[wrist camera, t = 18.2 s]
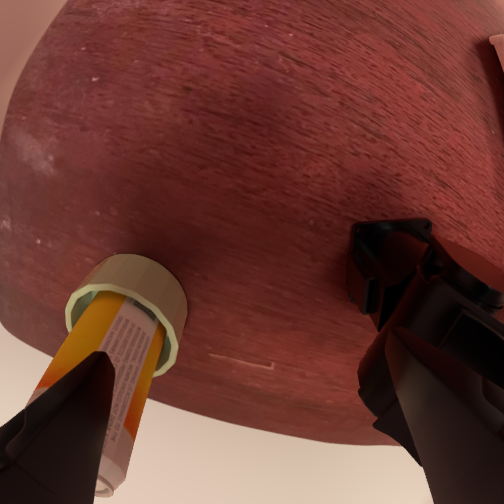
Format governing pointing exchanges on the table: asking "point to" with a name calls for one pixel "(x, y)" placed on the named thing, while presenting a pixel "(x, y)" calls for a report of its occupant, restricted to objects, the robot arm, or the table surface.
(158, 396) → the table surface
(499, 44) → the white smoke grenade
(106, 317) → the beer can
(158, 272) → the can holder
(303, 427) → the table surface
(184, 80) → the table surface
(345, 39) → the table surface
